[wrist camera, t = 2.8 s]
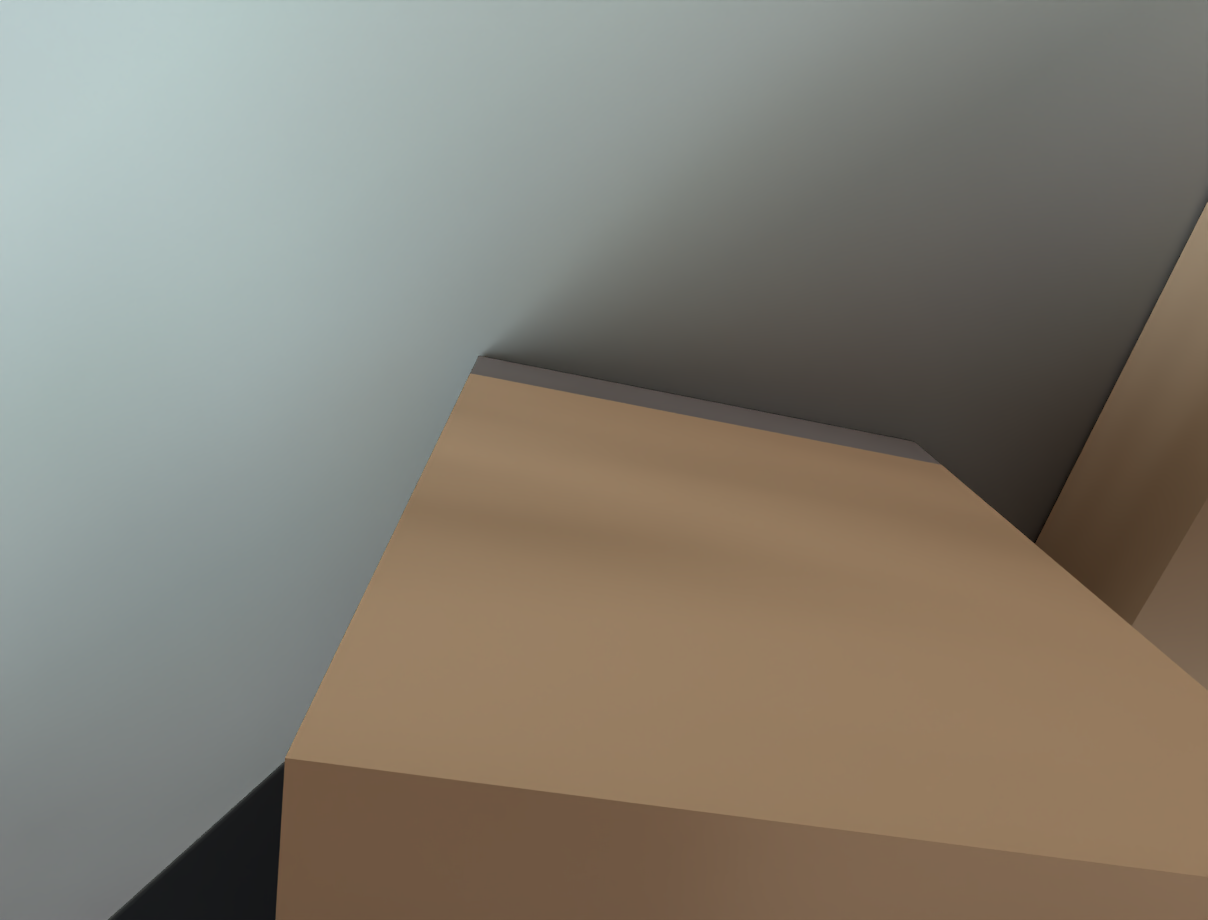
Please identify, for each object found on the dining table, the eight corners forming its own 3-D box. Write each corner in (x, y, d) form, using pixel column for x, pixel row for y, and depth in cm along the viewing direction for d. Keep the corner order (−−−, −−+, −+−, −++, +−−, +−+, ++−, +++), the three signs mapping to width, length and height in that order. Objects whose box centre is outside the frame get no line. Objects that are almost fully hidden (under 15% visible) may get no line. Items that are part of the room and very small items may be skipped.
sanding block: (727, 899, 10) (856, 1528, 5) (402, 862, 10) (239, 1523, 5) (914, 442, 7) (1465, 912, 3) (479, 355, 7) (285, 756, 2)
